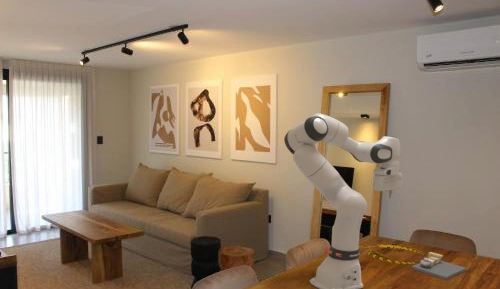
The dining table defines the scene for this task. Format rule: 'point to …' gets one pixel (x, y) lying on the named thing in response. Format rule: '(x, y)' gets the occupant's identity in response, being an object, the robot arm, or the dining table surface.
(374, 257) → the decorative wreath
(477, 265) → the dining table surface
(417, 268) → the pintle board
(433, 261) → the link
